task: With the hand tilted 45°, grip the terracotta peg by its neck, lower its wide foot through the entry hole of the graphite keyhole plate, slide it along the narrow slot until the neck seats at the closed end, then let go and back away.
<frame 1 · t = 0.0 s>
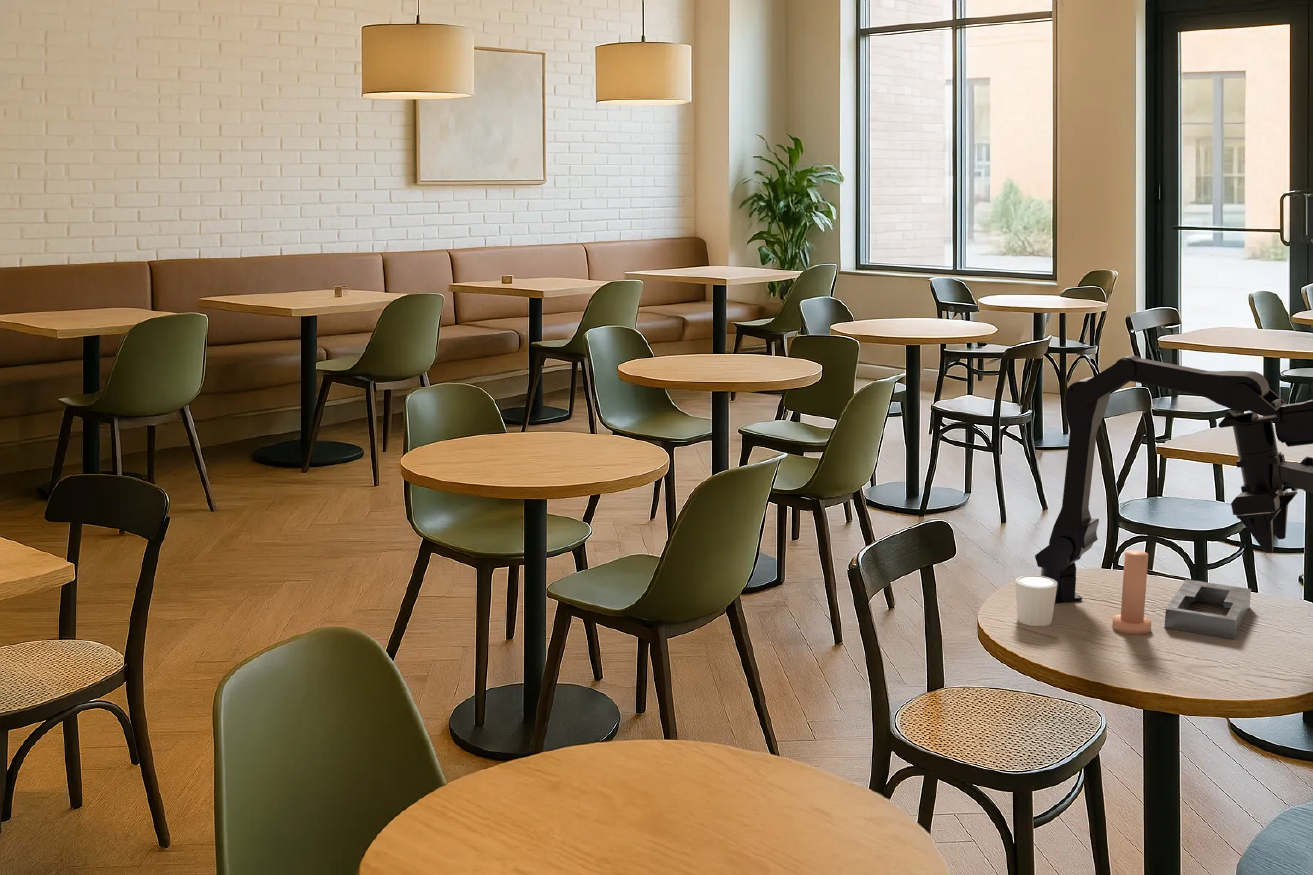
hand: (1275, 545, 197), 15 cm above the table, tool pointing down, fingers open, 9 cm apart
peg: (1131, 628, 205), on the table
white cup: (1034, 621, 209), on the table
keyhole plate: (1207, 617, 209), on the table
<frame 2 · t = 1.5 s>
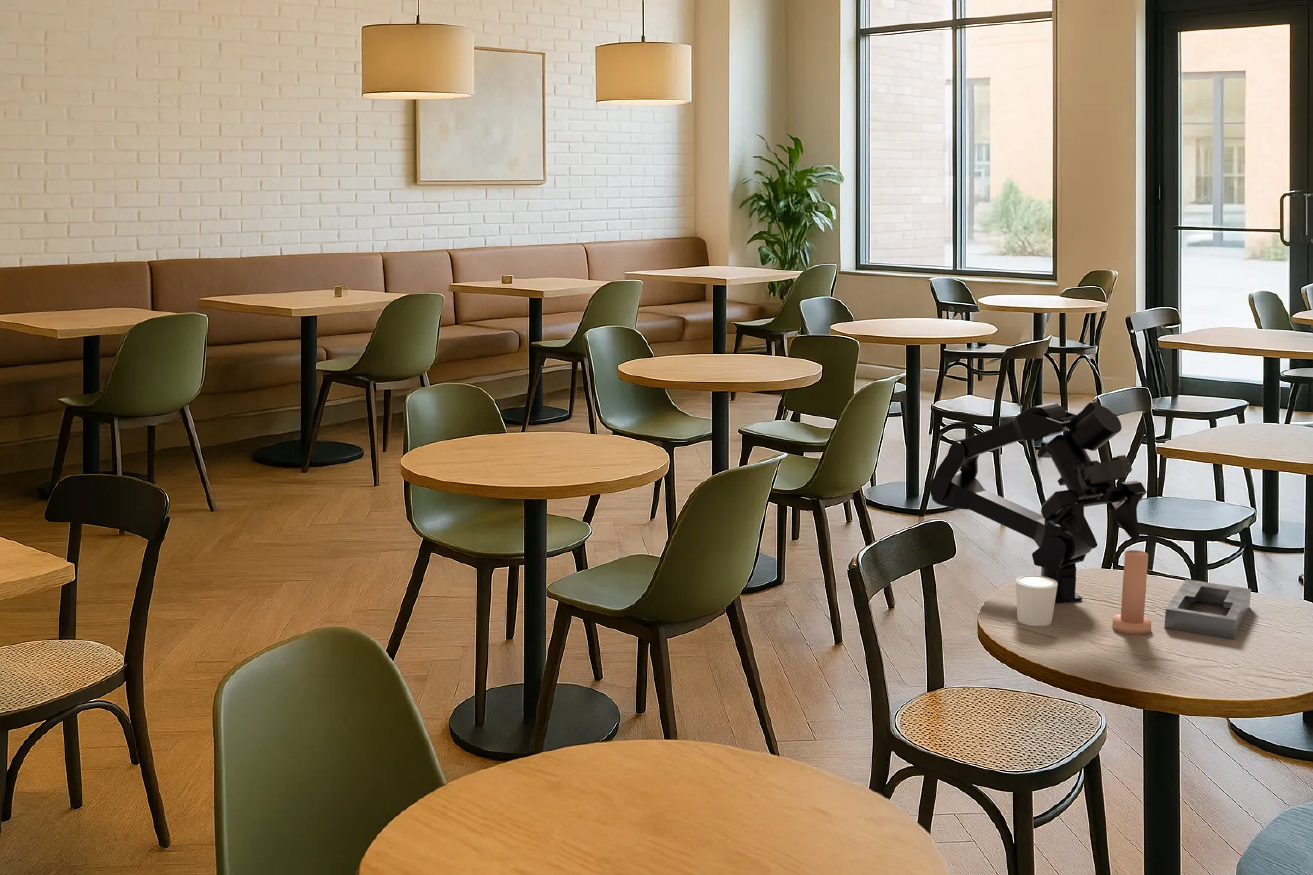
hand: (1116, 543, 206), 13 cm above the table, tool tilted 45°, fingers open, 9 cm apart
nothing on the table moved.
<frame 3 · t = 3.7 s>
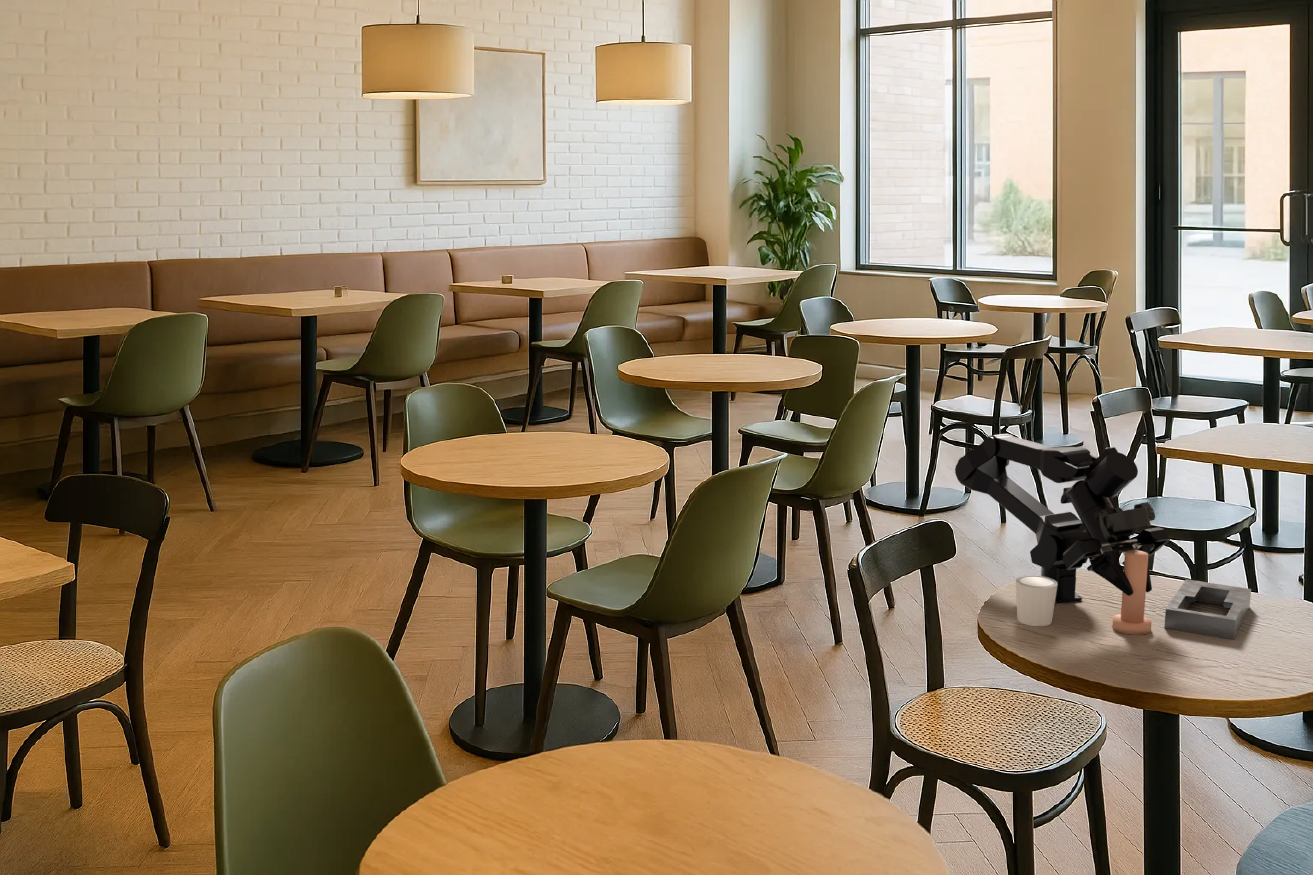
hand: (1140, 592, 202), 7 cm above the table, tool tilted 45°, fingers closed on peg, 4 cm apart
peg: (1131, 628, 205), on the table, touching gripper
everything else where it was.
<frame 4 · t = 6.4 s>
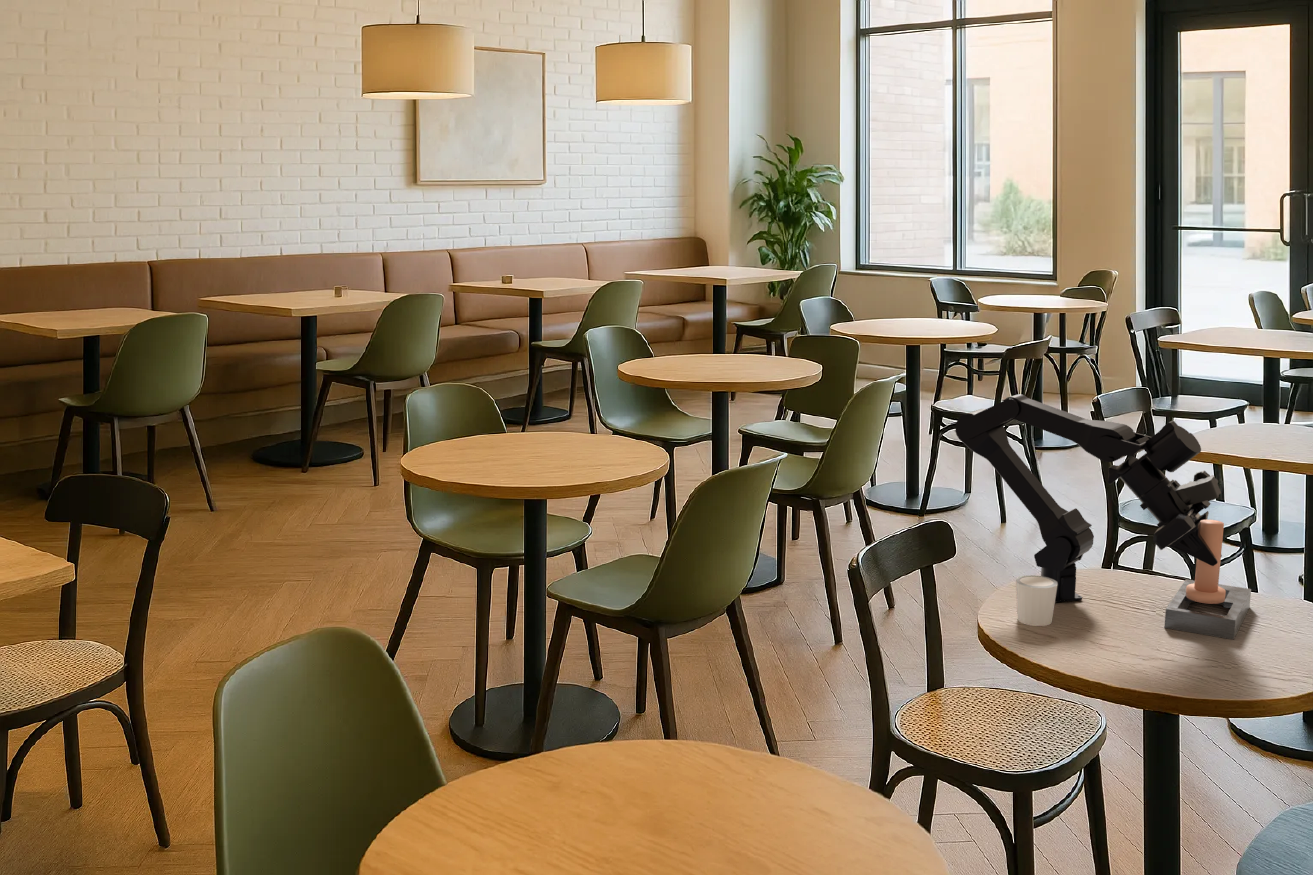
hand: (1217, 561, 203), 11 cm above the table, tool tilted 45°, fingers closed on peg, 4 cm apart
peg: (1205, 597, 205), point 5 cm above the table, touching gripper
everything else where it was.
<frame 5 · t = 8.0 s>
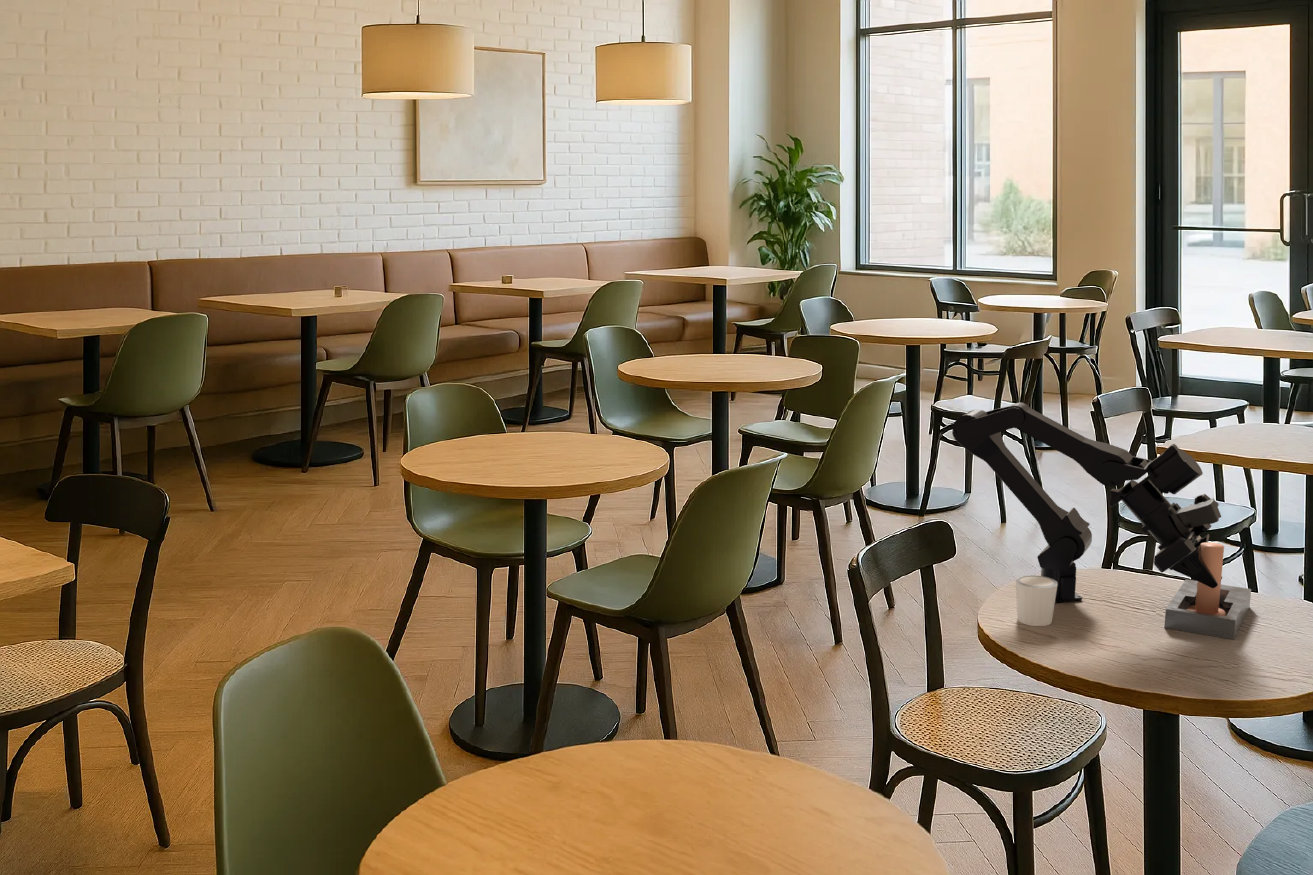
hand: (1217, 583, 206), 7 cm above the table, tool tilted 45°, fingers closed on peg, 4 cm apart
peg: (1205, 619, 208), resting in keyhole plate, touching gripper
everything else where it was.
when the fingers open (7 cm above the table, at t = 9.4 s): peg stays where it is, resting in keyhole plate.
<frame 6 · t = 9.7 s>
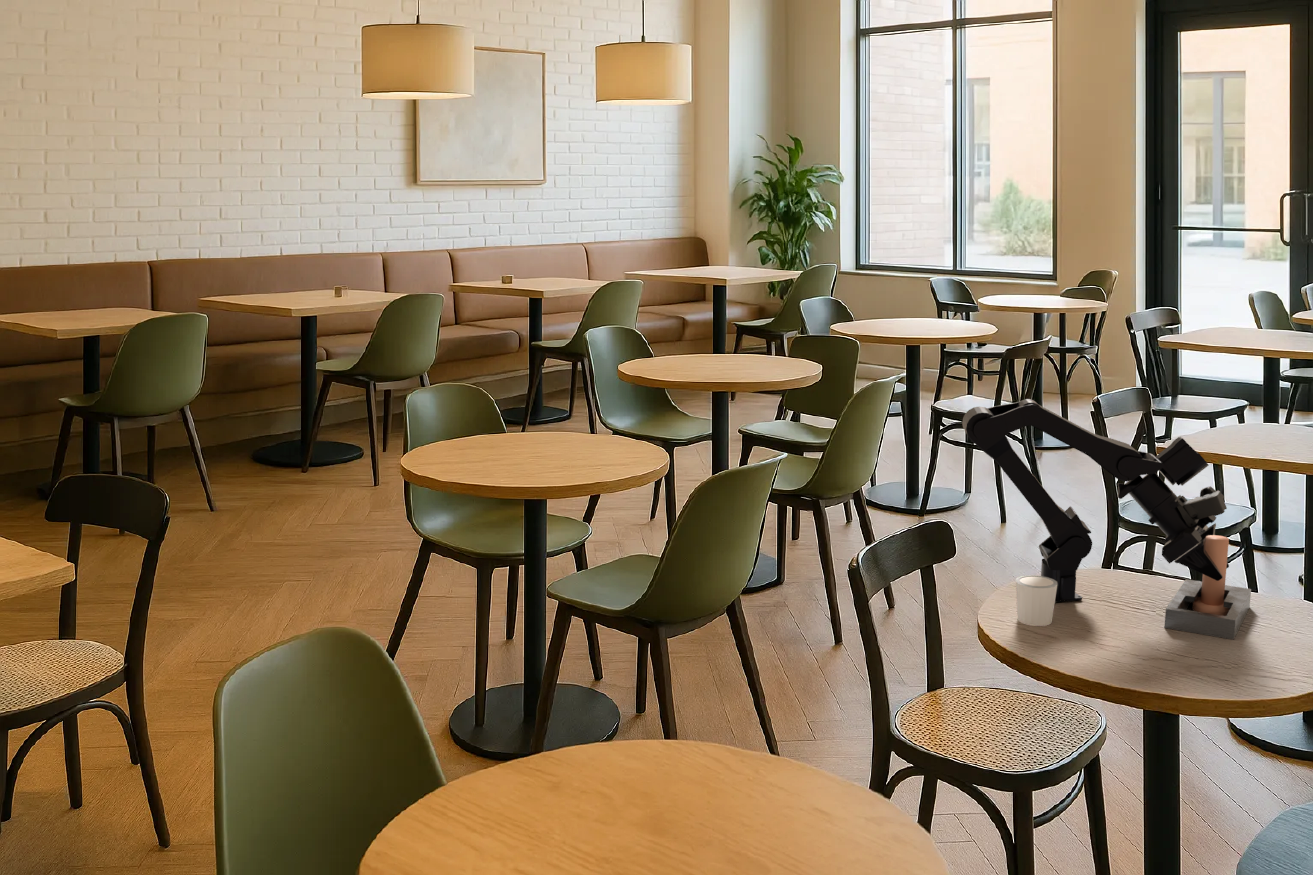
hand: (1223, 573, 211), 7 cm above the table, tool tilted 45°, fingers open, 7 cm apart
peg: (1211, 610, 213), resting in keyhole plate
everything else where it was.
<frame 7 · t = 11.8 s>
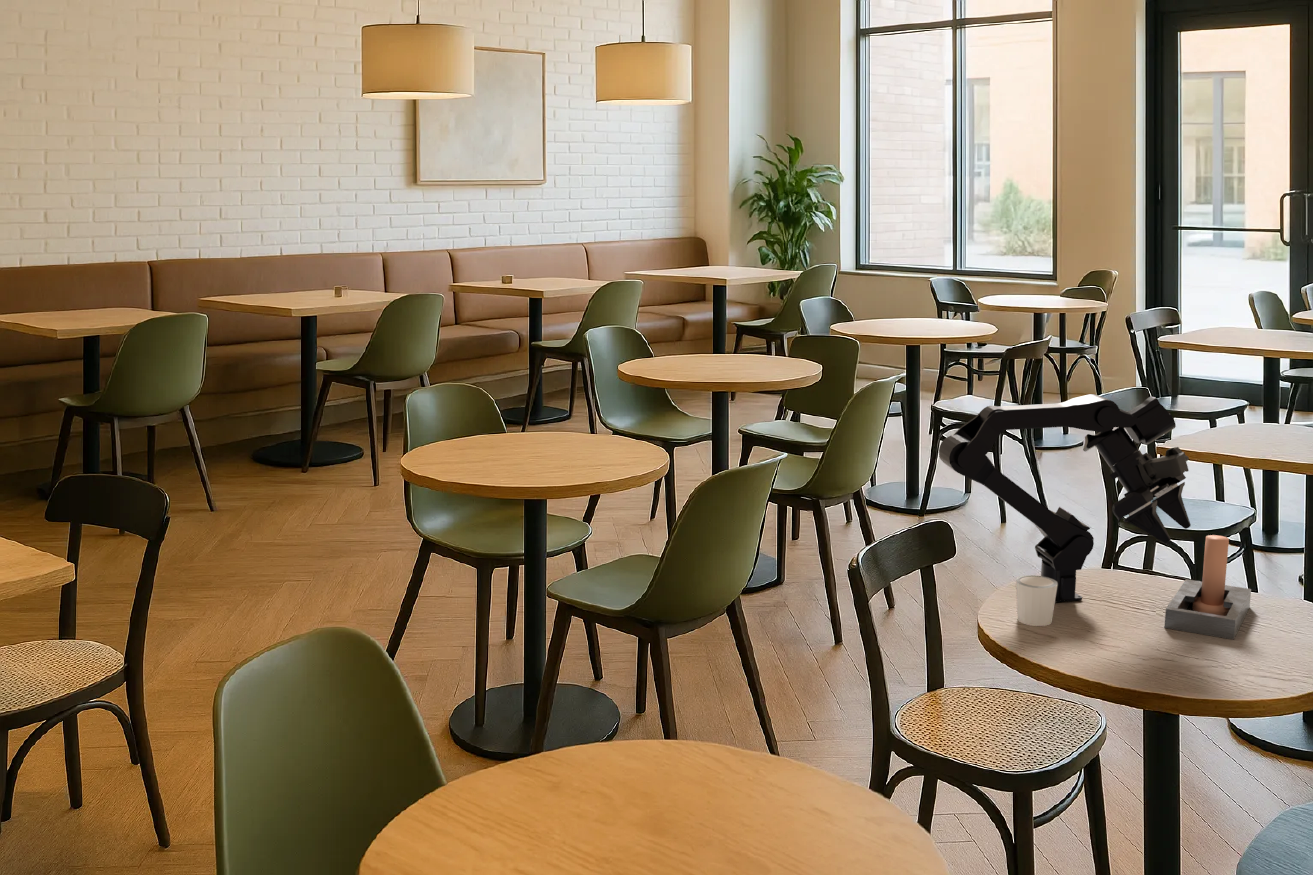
hand: (1178, 534, 212), 13 cm above the table, tool tilted 40°, fingers open, 9 cm apart
nothing on the table moved.
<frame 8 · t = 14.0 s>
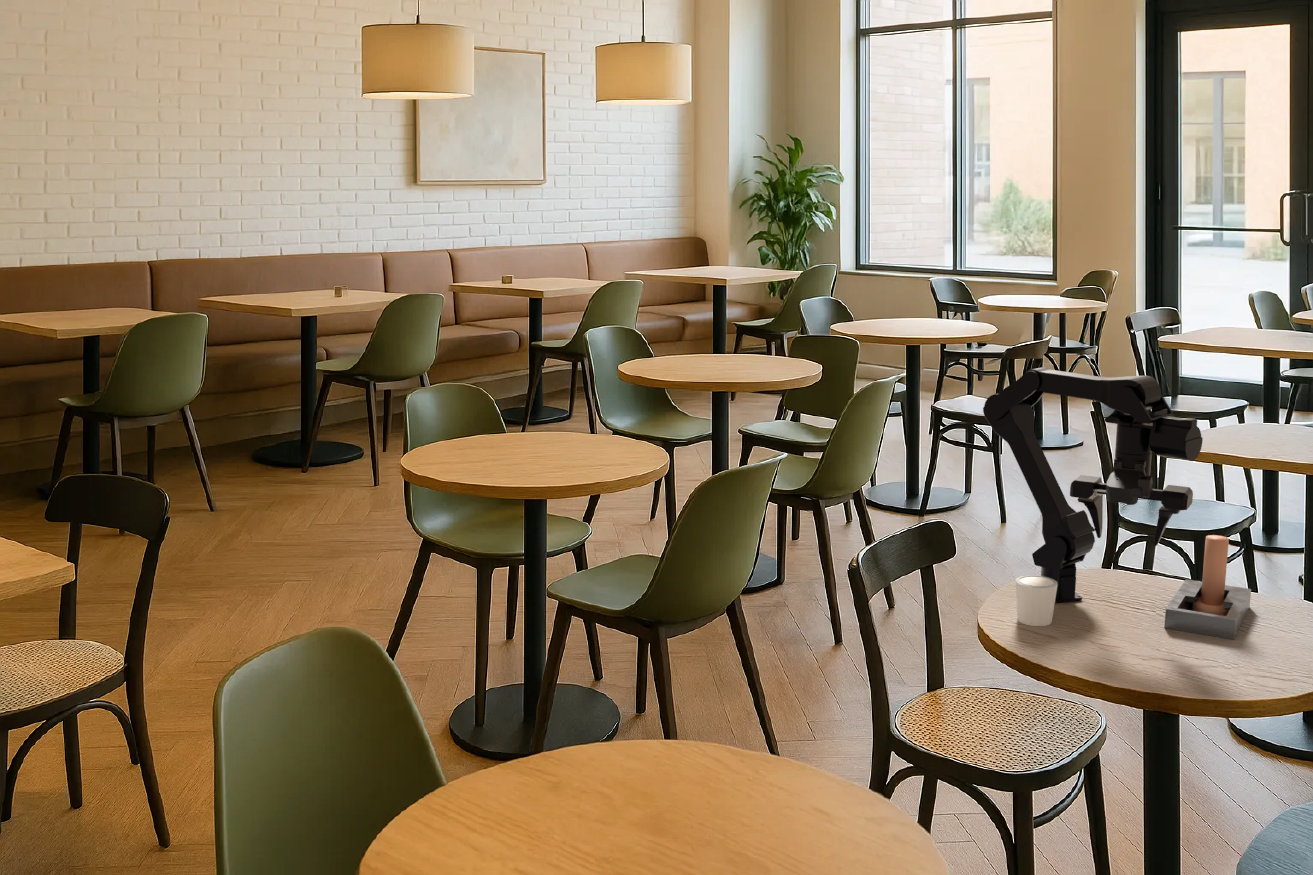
hand: (1127, 541, 209), 13 cm above the table, tool pointing down, fingers open, 9 cm apart
nothing on the table moved.
at the end: peg 0.1 cm from the target spot on the keyhole plate, point 0.0 cm above the keyhole plate's base; peg tilted 0°; the gripper is holding nothing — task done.
